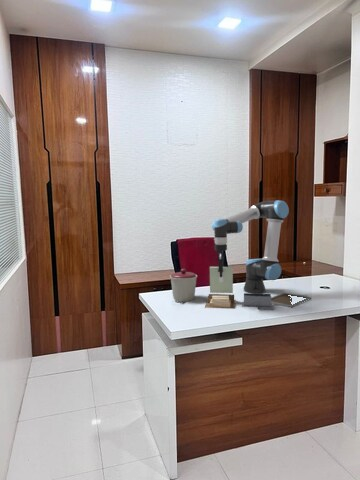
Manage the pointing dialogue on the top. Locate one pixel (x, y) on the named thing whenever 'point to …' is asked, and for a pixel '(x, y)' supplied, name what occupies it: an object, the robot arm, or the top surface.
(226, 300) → the offcut upper
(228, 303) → the offcut lower
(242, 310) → the top surface
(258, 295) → the stand
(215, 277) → the panel
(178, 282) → the canister
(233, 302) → the rack
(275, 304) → the grey brown flat board
